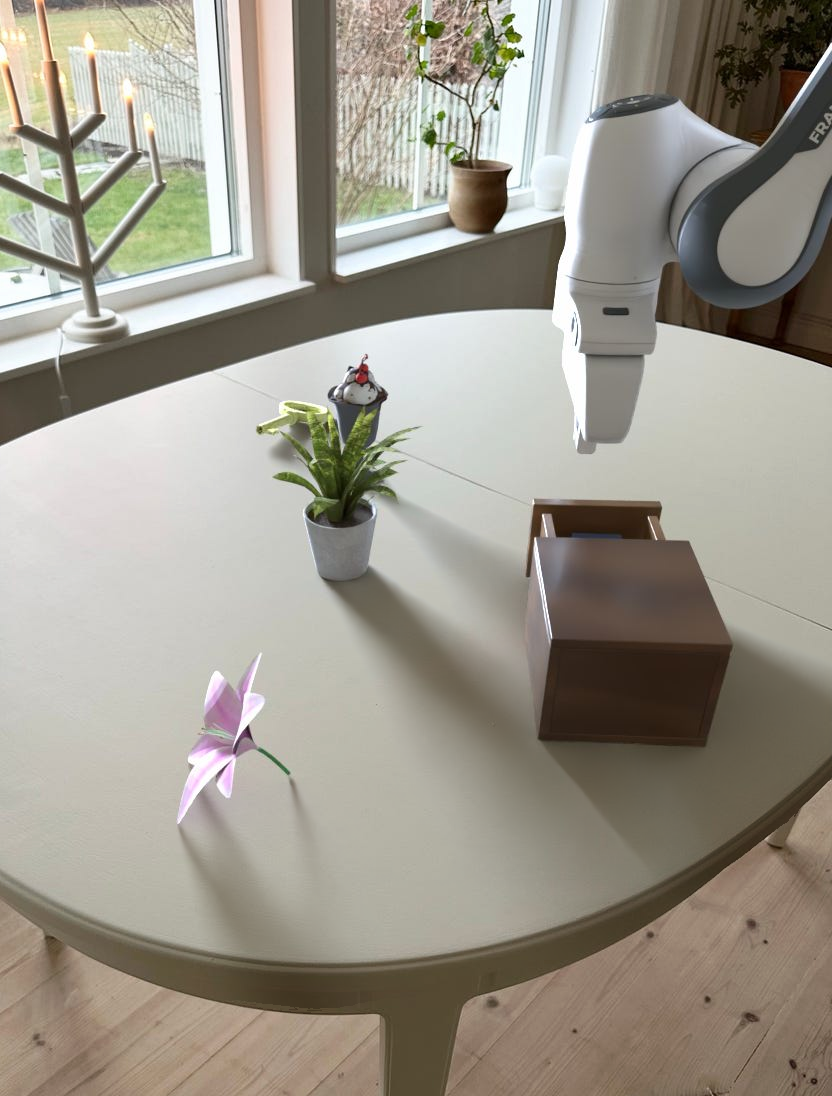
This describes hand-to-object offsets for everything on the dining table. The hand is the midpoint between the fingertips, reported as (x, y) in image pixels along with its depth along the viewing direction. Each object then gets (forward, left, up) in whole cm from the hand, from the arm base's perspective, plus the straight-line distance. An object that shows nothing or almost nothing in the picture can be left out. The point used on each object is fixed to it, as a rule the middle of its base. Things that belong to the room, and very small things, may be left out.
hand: (583, 447), depth 93 cm
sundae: (+23, -12, -10) cm, 28 cm away
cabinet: (0, +25, -10) cm, 27 cm away
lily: (+29, +38, -10) cm, 49 cm away
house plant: (+23, +9, -10) cm, 26 cm away
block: (0, +14, -8) cm, 15 cm away
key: (+33, -27, -10) cm, 43 cm away
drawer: (0, +14, -9) cm, 16 cm away
